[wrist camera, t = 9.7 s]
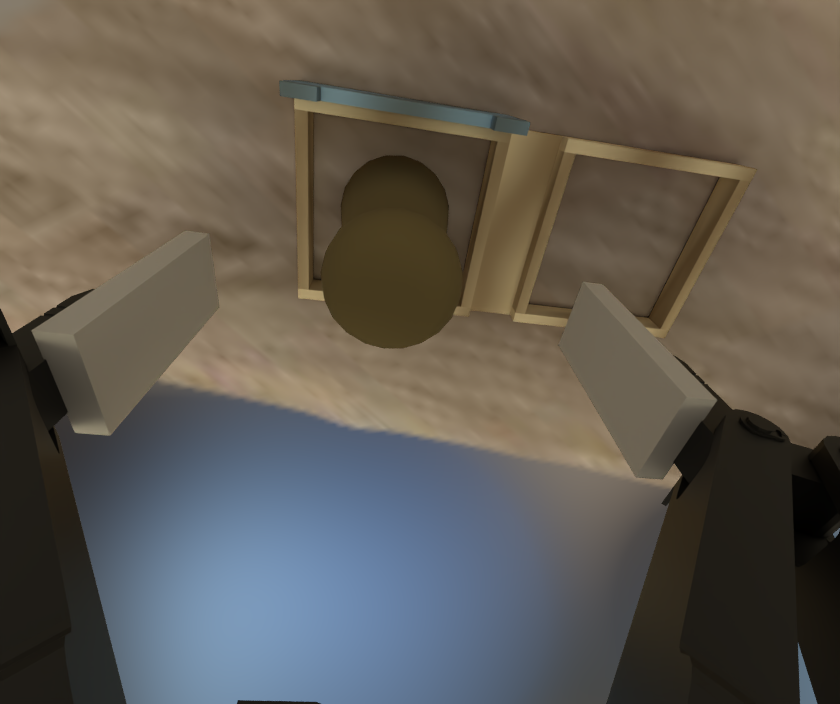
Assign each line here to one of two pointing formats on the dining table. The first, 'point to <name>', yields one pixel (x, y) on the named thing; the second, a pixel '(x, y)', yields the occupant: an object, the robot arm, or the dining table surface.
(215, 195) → the dining table surface
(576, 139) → the caddy
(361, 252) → the cork
